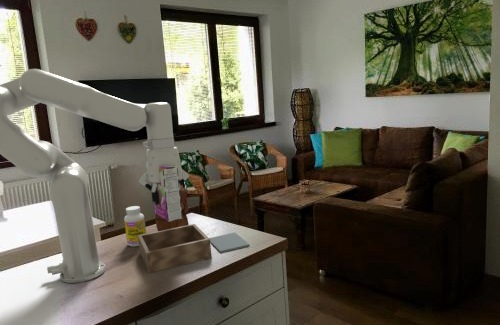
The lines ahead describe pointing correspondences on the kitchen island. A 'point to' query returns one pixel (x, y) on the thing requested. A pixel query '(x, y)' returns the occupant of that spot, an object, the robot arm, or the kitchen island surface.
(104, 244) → the kitchen island surface
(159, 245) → the open wooden crate
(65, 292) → the kitchen island surface
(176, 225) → the wooden figurine
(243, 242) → the grey mat
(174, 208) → the candy bar box
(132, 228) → the supplement bottle
